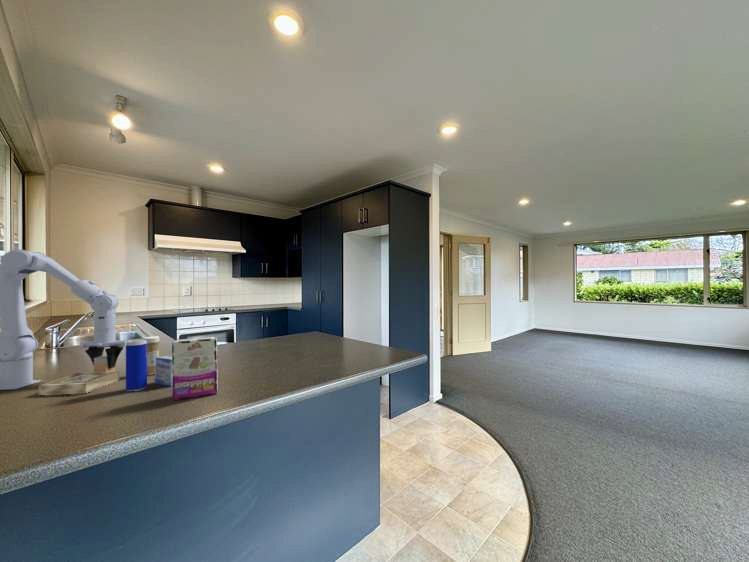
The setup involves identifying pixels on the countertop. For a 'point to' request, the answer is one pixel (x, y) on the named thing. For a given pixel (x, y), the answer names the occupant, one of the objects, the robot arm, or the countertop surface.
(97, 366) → the tan-topped block
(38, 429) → the countertop surface
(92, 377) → the frame
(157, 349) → the sprinkles bottle
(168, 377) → the medicine box
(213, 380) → the candy bar box
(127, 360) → the beverage can
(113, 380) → the walled box
